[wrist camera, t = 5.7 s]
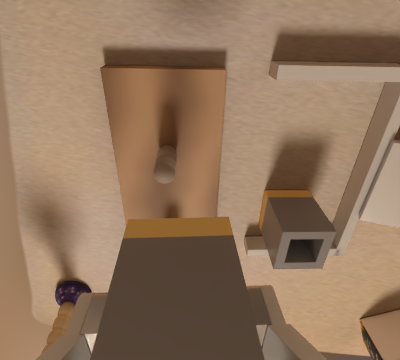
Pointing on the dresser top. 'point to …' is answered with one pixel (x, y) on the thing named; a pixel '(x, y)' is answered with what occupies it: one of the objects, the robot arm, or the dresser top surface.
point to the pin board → (166, 138)
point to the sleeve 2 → (295, 230)
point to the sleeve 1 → (177, 295)
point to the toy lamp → (65, 307)
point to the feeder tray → (369, 154)
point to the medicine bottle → (382, 335)
